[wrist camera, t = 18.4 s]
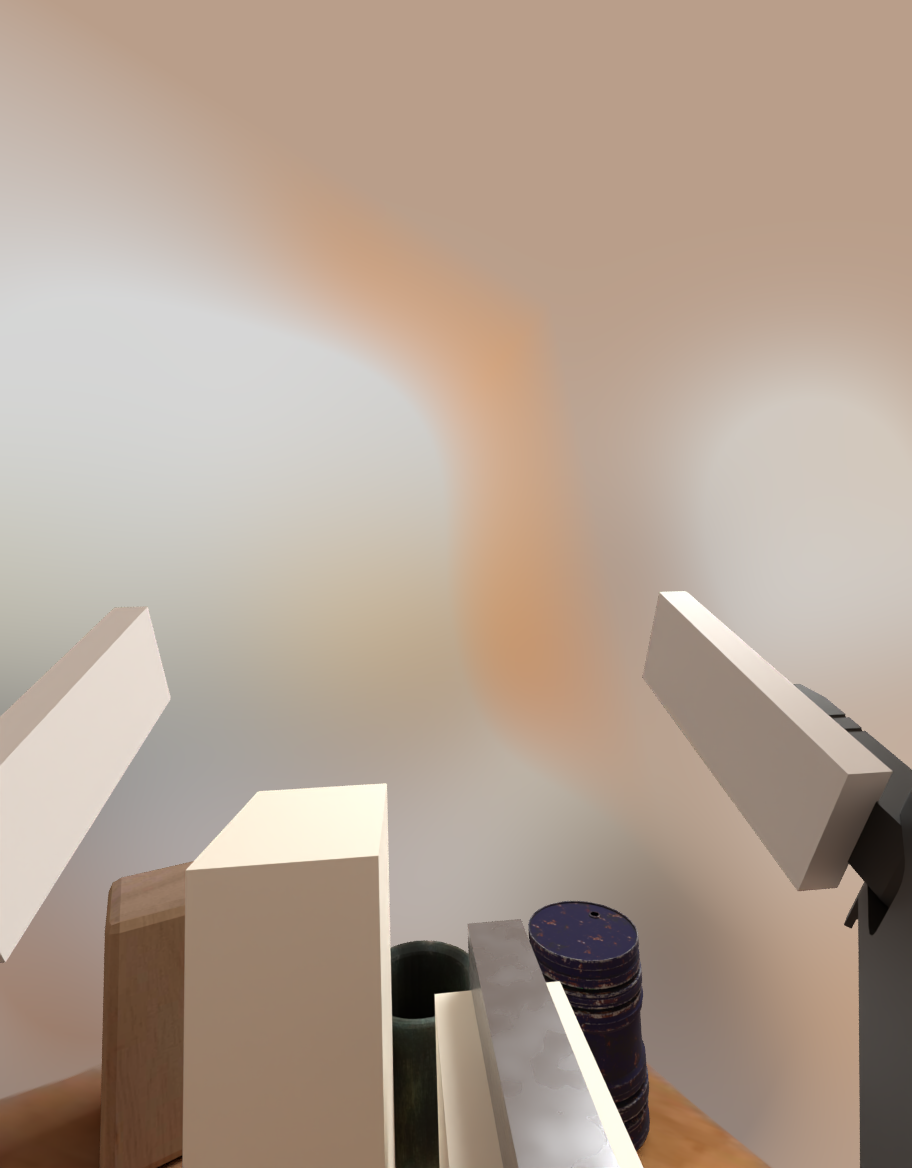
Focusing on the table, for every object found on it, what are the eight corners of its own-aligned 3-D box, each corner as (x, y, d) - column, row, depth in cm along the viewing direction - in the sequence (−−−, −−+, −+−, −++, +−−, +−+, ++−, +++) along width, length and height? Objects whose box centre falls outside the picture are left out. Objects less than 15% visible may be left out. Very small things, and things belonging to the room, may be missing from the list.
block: (239, 1134, 45) (240, 888, 47) (98, 1203, 40) (104, 924, 42) (222, 1056, 54) (223, 850, 56) (104, 1105, 49) (109, 876, 50)
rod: (579, 1593, 12) (571, 1423, 13) (469, 981, 34) (467, 923, 35) (722, 1563, 13) (710, 1397, 13) (523, 975, 35) (520, 919, 35)
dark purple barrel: (626, 1189, 40) (614, 977, 41) (513, 1119, 46) (506, 936, 47) (666, 1094, 48) (654, 919, 49) (565, 1046, 54) (557, 890, 55)
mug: (366, 1213, 39) (363, 1037, 40) (351, 1060, 53) (349, 932, 54) (506, 1169, 42) (499, 1005, 43) (457, 1034, 56) (453, 914, 57)
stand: (178, 1533, 25) (185, 870, 28) (258, 1212, 39) (258, 791, 42) (391, 1491, 26) (378, 855, 29) (395, 1193, 40) (386, 783, 43)
